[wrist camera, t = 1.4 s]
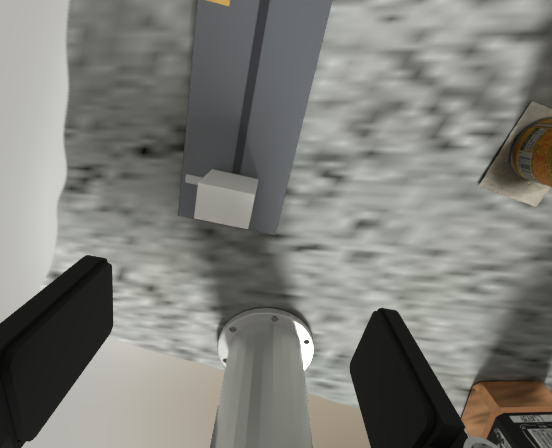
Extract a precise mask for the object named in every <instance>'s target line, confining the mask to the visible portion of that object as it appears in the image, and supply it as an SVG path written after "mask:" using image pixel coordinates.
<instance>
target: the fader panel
mask: <svg viewBox="0 0 552 448" xmlns="http://www.w3.org/2000/svg"><path fill="white" fill-rule="evenodd" d="M331 4H332V0H198V3H197V14H196V25H195V35H194V46H193V57H192V68H191V79H190V90H189V101H188V112H187V123H186V134H185V145H184V156H183V167H182V178H181V189H180V200H179V211H178V216H183V217H188V218H193V219H194V214H195V205H196V197H197V188H198V182H199V181H200V180H201V179H202V178H203V177H204V176H205V175H206V174H207V173H209V172H210V171H211V170H212V169H214V170H219V171H223V172H228V173H232V174H237V175H242V176H246V177H251V178H255V179H259V180H258V185H257V190H256V195H255V200H254V205H253V210H252V214H251V218H250V223H249V227H248V230H253V231H258V232H263V233H268V234H273V235H275V233H276V229H277V225H278V221H279V217H280V213H281V209H282V205H283V201H284V196H285V192H286V188H287V184H288V180H289V176H290V172H291V168H292V164H293V160H294V156H295V151H296V147H297V143H298V139H299V135H300V131H301V127H302V123H303V119H304V115H305V110H306V106H307V102H308V98H309V94H310V90H311V86H312V82H313V78H314V74H315V70H316V65H317V61H318V57H319V53H320V49H321V45H322V41H323V37H324V33H325V29H326V24H327V20H328V16H329V12H330V8H331ZM198 220H199V219H198ZM203 221H204V220H203ZM208 222H209V221H208ZM213 223H214V222H213ZM218 224H219V223H218ZM223 225H224V224H223ZM228 226H229V225H228ZM233 227H234V226H233ZM238 228H239V227H238ZM243 229H244V228H243Z"/></svg>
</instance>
